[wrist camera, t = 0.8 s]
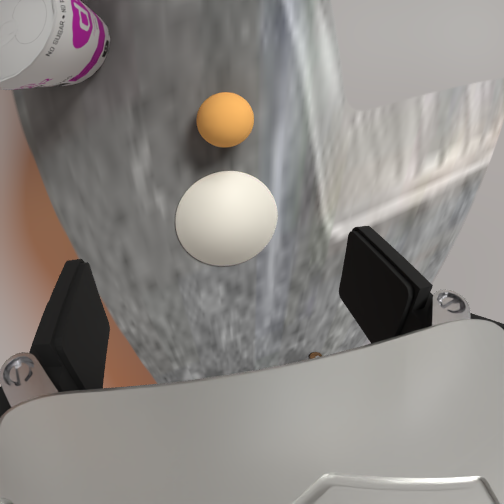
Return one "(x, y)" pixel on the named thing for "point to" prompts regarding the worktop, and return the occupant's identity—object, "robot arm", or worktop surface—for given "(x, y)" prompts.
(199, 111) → the ball
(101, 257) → the worktop surface
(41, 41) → the supplement can
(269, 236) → the disc
